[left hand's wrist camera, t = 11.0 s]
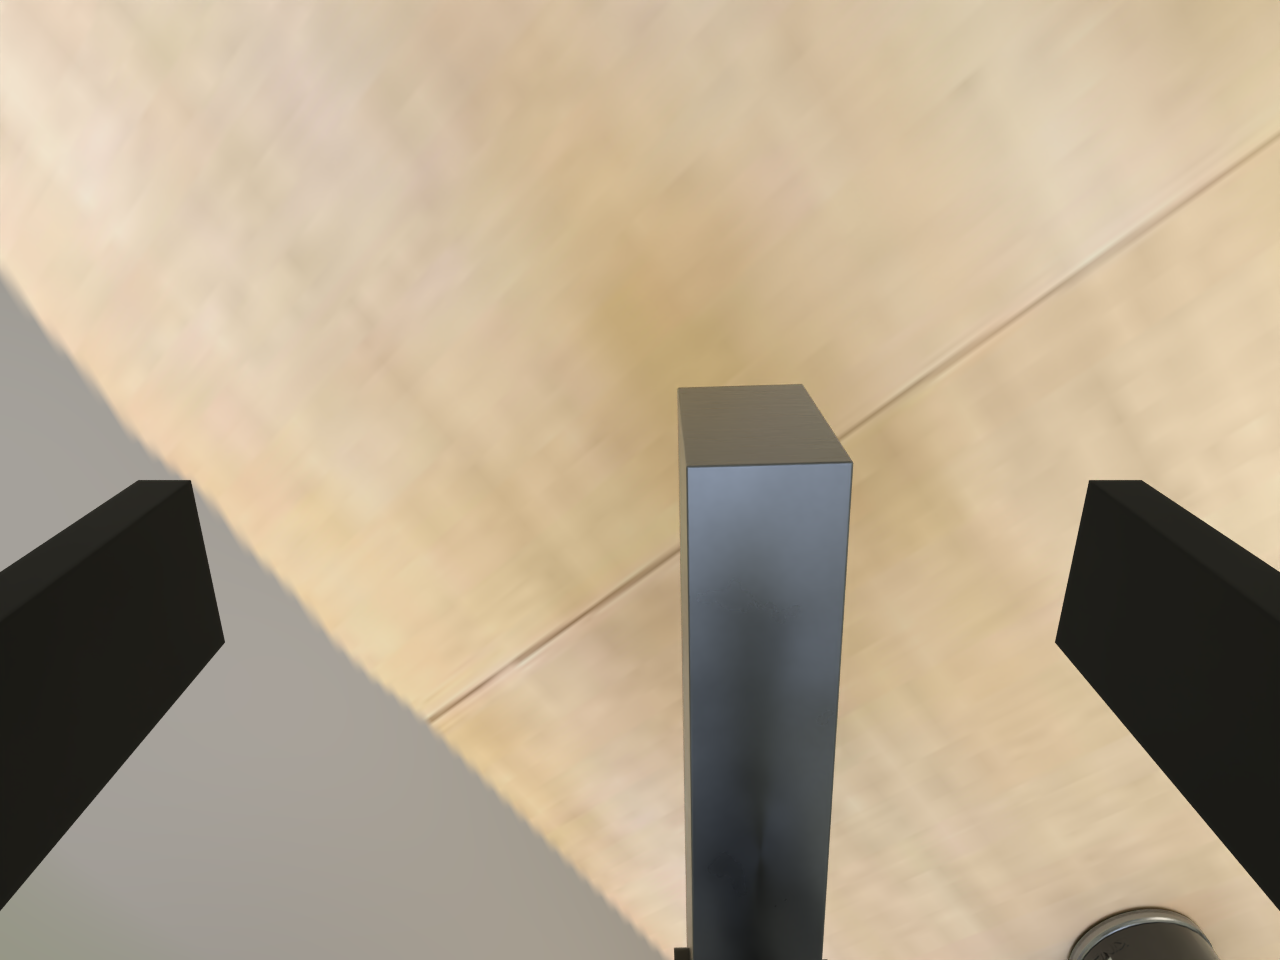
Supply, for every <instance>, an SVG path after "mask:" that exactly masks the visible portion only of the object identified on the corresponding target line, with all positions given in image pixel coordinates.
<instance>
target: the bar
mask: <svg viewBox="0 0 1280 960" xmlns="http://www.w3.org/2000/svg"><path fill="white" fill-rule="evenodd" d="M677 397H678V455H679V513H680V571H681V629H682V687H683V745H684V803H685V862H686V920H687V948H689V954H690V960H822V952H823V936H824V920H825V904H826V889H827V873H828V857H829V841H830V825H831V809H832V793H833V777H834V761H835V745H836V729H837V713H838V697H839V681H840V666H841V650H842V634H843V618H844V602H845V586H846V570H847V554H848V538H849V522H850V506H851V490H852V474H853V462H852V460H851V459H850V457H849V455H848V454H847V452H846V451H845V449H844V448H843V446H842V445H841V443H840V442H839V440H838V438H837V437H836V435H835V434H834V432H833V431H832V429H831V428H830V426H829V425H828V423H827V422H826V420H825V418H824V417H823V415H822V414H821V412H820V411H819V409H818V408H817V406H816V405H815V403H814V401H813V400H812V398H811V397H810V395H809V394H808V392H807V391H806V389H805V388H804V386H803V385H802V384H792V385H757V386H722V387H687V388H678V389H677Z"/></svg>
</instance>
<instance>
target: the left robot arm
mask: <svg viewBox="0 0 1280 960" xmlns="http://www.w3.org/2000/svg"><path fill="white" fill-rule="evenodd" d="M224 643H225V640H224V635H223V631H222V626H221V621H220V616H219V612H218V607H217V602H216V598H215V593H214V588H213V583H212V579H211V574H210V569H209V564H208V560H207V555H206V550H205V545H204V541H203V536H202V531H201V526H200V522H199V517H198V512H197V507H196V503H195V498H194V493H193V488H192V484H191V480H138V481H137V482H135V483H134V484H132V485H131V486H129V487H128V488H126V489H124V490H123V491H121V492H120V493H119V494H117V495H116V496H114V497H113V498H111V499H109V500H108V501H106V502H105V503H103V504H102V505H100V506H99V507H97V508H96V509H94V510H93V511H91V512H90V513H88V514H87V515H85V516H84V517H82V518H81V519H79V520H78V521H76V522H75V523H73V524H72V525H70V526H69V527H67V528H66V529H64V530H63V531H61V532H60V533H58V534H57V535H55V536H54V537H52V538H51V539H49V540H48V541H46V542H45V543H43V544H42V545H40V546H39V547H37V548H36V549H34V550H33V551H31V552H30V553H28V554H27V555H25V556H24V557H22V558H21V559H19V560H18V561H16V562H15V563H13V564H12V565H10V566H9V567H7V568H6V569H4V570H3V571H1V572H0V910H1V909H2V908H3V907H4V906H5V905H6V903H7V902H8V901H9V900H10V899H11V897H12V896H13V895H14V894H15V893H16V891H17V890H18V889H19V888H20V887H21V885H22V884H23V883H24V882H25V881H26V879H27V878H28V877H29V876H30V875H31V873H32V872H33V871H34V870H35V869H36V868H37V866H38V865H39V864H40V863H41V862H42V860H43V859H44V858H45V857H46V856H47V854H48V853H49V852H50V851H51V850H52V848H53V847H54V846H55V845H56V844H57V842H58V841H59V840H60V839H61V838H62V836H63V835H64V834H65V833H66V832H67V831H68V829H69V828H70V827H71V826H72V825H73V823H74V822H75V821H76V820H77V819H78V817H79V816H80V815H81V814H82V813H83V811H84V810H85V809H86V808H87V807H88V805H89V804H90V803H91V802H92V801H93V799H94V798H95V797H96V796H97V795H98V793H99V792H100V791H101V790H102V789H103V787H104V786H105V785H106V784H107V783H108V782H109V780H110V779H111V778H112V777H113V776H114V774H115V773H116V772H117V771H118V769H119V768H120V767H121V766H122V765H123V764H124V762H125V761H126V760H127V759H128V758H129V756H130V755H131V754H132V753H133V752H134V750H135V749H136V748H137V747H138V746H139V744H140V743H141V742H142V741H143V740H144V739H145V737H146V736H147V735H148V734H149V733H150V731H151V730H152V729H153V728H154V727H155V725H156V724H157V723H158V722H159V721H160V719H161V718H162V717H163V716H164V715H165V713H166V712H167V711H168V710H169V709H170V707H171V706H172V705H173V704H174V703H175V701H176V700H177V699H178V698H179V697H180V695H181V694H182V693H183V692H184V691H185V690H186V688H187V687H188V686H189V685H190V683H191V682H192V681H193V680H194V679H195V678H196V676H197V675H198V674H199V673H200V672H201V670H202V669H203V668H204V667H205V666H206V664H207V663H208V662H209V661H210V660H211V658H212V657H213V656H214V655H215V654H216V652H217V651H218V650H219V649H220V648H221V647H222V645H223V644H224ZM1055 643H1056V644H1057V645H1058V647H1059V648H1060V649H1061V650H1062V651H1063V652H1064V654H1065V655H1066V656H1067V657H1068V658H1069V660H1070V661H1071V662H1072V663H1073V664H1074V666H1075V667H1076V668H1077V669H1078V670H1079V672H1080V673H1081V674H1082V675H1083V676H1084V678H1085V679H1086V680H1087V681H1088V682H1089V684H1090V685H1091V686H1092V687H1093V688H1094V690H1095V691H1096V692H1097V693H1098V694H1099V696H1100V697H1101V698H1102V699H1103V700H1104V701H1105V703H1106V704H1107V705H1108V706H1109V707H1110V709H1111V710H1112V711H1113V712H1114V713H1115V715H1116V716H1117V717H1118V718H1119V719H1120V721H1121V722H1122V723H1123V724H1124V725H1125V727H1126V728H1127V729H1128V730H1129V731H1130V733H1131V734H1132V735H1133V736H1134V737H1135V739H1136V740H1137V741H1138V742H1139V743H1140V744H1141V746H1142V747H1143V748H1144V749H1145V750H1146V752H1147V753H1148V754H1149V755H1150V756H1151V758H1152V759H1153V760H1154V761H1155V762H1156V764H1157V765H1158V766H1159V767H1160V768H1161V770H1162V771H1163V772H1164V773H1165V774H1166V776H1167V777H1168V778H1169V779H1170V780H1171V782H1172V783H1173V784H1174V785H1175V786H1176V787H1177V789H1178V790H1179V791H1180V792H1181V793H1182V795H1183V796H1184V797H1185V798H1186V799H1187V801H1188V802H1189V803H1190V804H1191V805H1192V807H1193V808H1194V809H1195V810H1196V811H1197V813H1198V814H1199V815H1200V816H1201V817H1202V819H1203V820H1204V821H1205V822H1206V823H1207V825H1208V826H1209V827H1210V828H1211V829H1212V831H1213V832H1214V833H1215V834H1216V835H1217V836H1218V838H1219V839H1220V840H1221V841H1222V842H1223V844H1224V845H1225V846H1226V847H1227V848H1228V850H1229V851H1230V852H1231V853H1232V854H1233V856H1234V857H1235V858H1236V859H1237V860H1238V862H1239V863H1240V864H1241V865H1242V866H1243V868H1244V869H1245V870H1246V871H1247V872H1248V874H1249V875H1250V876H1251V877H1252V878H1253V879H1254V881H1255V882H1256V883H1257V884H1258V885H1259V887H1260V888H1261V889H1262V890H1263V891H1264V893H1265V894H1266V895H1267V896H1268V897H1269V899H1270V900H1271V901H1272V902H1273V903H1274V905H1275V906H1276V907H1277V908H1278V909H1279V911H1280V572H1279V571H1277V570H1276V569H1274V568H1273V567H1271V566H1270V565H1268V564H1267V563H1265V562H1264V561H1262V560H1261V559H1259V558H1258V557H1256V556H1255V555H1253V554H1252V553H1250V552H1249V551H1247V550H1246V549H1244V548H1243V547H1241V546H1240V545H1238V544H1237V543H1235V542H1234V541H1232V540H1231V539H1229V538H1228V537H1226V536H1225V535H1223V534H1222V533H1220V532H1219V531H1217V530H1216V529H1214V528H1213V527H1211V526H1210V525H1208V524H1207V523H1205V522H1204V521H1202V520H1201V519H1199V518H1198V517H1196V516H1195V515H1193V514H1192V513H1190V512H1189V511H1187V510H1186V509H1184V508H1183V507H1181V506H1180V505H1178V504H1177V503H1175V502H1174V501H1172V500H1171V499H1169V498H1168V497H1166V496H1165V495H1163V494H1162V493H1160V492H1159V491H1157V490H1156V489H1154V488H1153V487H1151V486H1149V485H1148V484H1146V483H1145V482H1143V481H1142V480H1089V484H1088V488H1087V493H1086V498H1085V503H1084V507H1083V512H1082V517H1081V522H1080V526H1079V531H1078V536H1077V541H1076V545H1075V550H1074V555H1073V560H1072V564H1071V569H1070V574H1069V579H1068V583H1067V588H1066V593H1065V597H1064V602H1063V607H1062V612H1061V616H1060V621H1059V626H1058V631H1057V635H1056V640H1055Z"/></svg>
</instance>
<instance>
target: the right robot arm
mask: <svg viewBox="0 0 1280 960" xmlns="http://www.w3.org/2000/svg"><path fill="white" fill-rule="evenodd" d="M674 960H690V954H689V948H674ZM826 960H827V959H826ZM1069 960H1220V959H1219V957H1218V956H1217V955H1216V953H1215V952H1214V950H1213V948H1212V946H1211V944H1210V942H1209V940H1208V939H1207V938H1206V936H1205V935H1204V933H1203V932H1202V931H1201V929H1200V928H1199V927H1198V926H1197V925H1196V924H1195V923H1194V922H1193V921H1192V920H1190V919H1189V918H1187V917H1185V916H1183V915H1181V914H1179V913H1176V912H1172V911H1168V910H1161V909H1142V910H1135V911H1130V912H1125V913H1122V914H1119V915H1116V916H1113V917H1111V918H1109V919H1107V920H1105V921H1103V922H1101V923H1099V924H1098V925H1096V926H1095V927H1093V928H1092V929H1090V930H1089V931H1088V932H1087V933H1086V934H1085V935H1084V936H1083V937H1082V938H1081V939H1080V940H1079V941H1078V942H1077V944H1076V945H1075V947H1074V949H1073V950H1072V952H1071V955H1070V958H1069Z"/></svg>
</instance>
